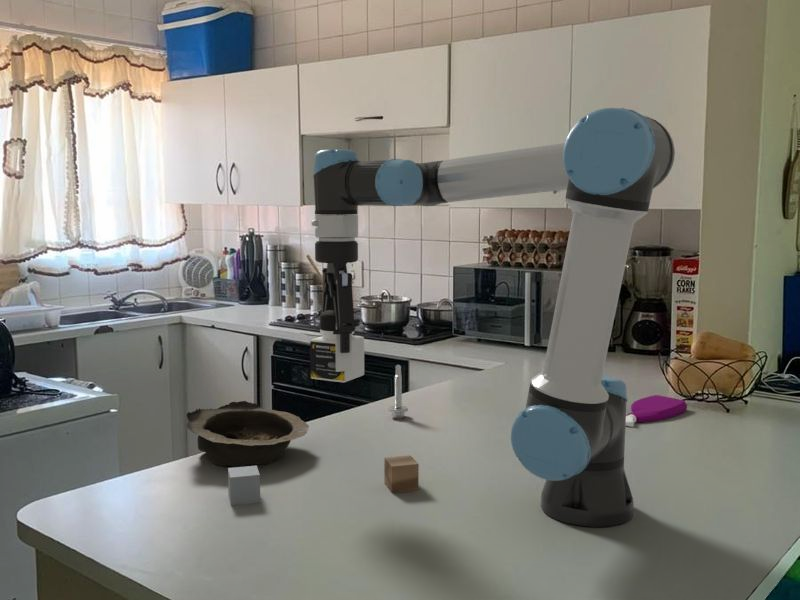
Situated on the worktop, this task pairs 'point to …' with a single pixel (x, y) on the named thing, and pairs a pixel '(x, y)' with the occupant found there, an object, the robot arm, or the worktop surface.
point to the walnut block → (401, 474)
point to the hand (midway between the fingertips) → (337, 364)
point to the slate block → (244, 485)
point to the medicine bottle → (333, 353)
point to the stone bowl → (244, 433)
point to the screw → (398, 396)
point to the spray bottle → (654, 409)
